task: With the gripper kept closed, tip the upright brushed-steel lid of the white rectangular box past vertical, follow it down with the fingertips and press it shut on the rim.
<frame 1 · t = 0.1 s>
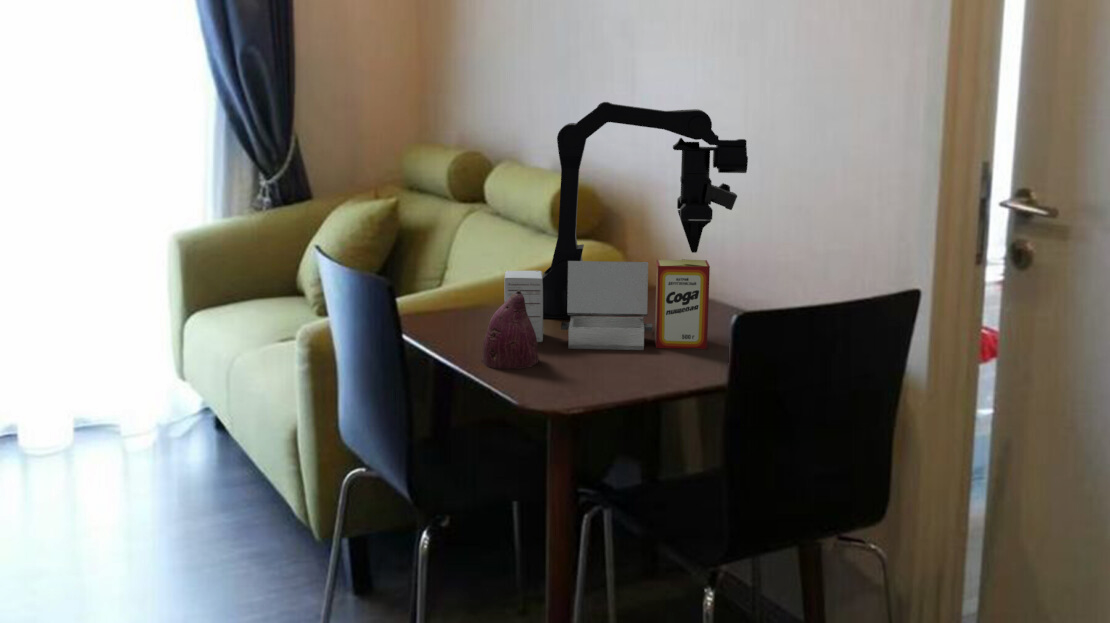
hand: (692, 248, 247), 15 cm above the table, fingers open, 9 cm apart
lid: (607, 288, 233), point 9 cm above the table, hinge at 100.0°
baking soda box: (680, 345, 228), on the table
white rectangular box: (606, 343, 229), on the table
vegetable: (509, 362, 215), on the table
supplement box: (523, 338, 232), on the table
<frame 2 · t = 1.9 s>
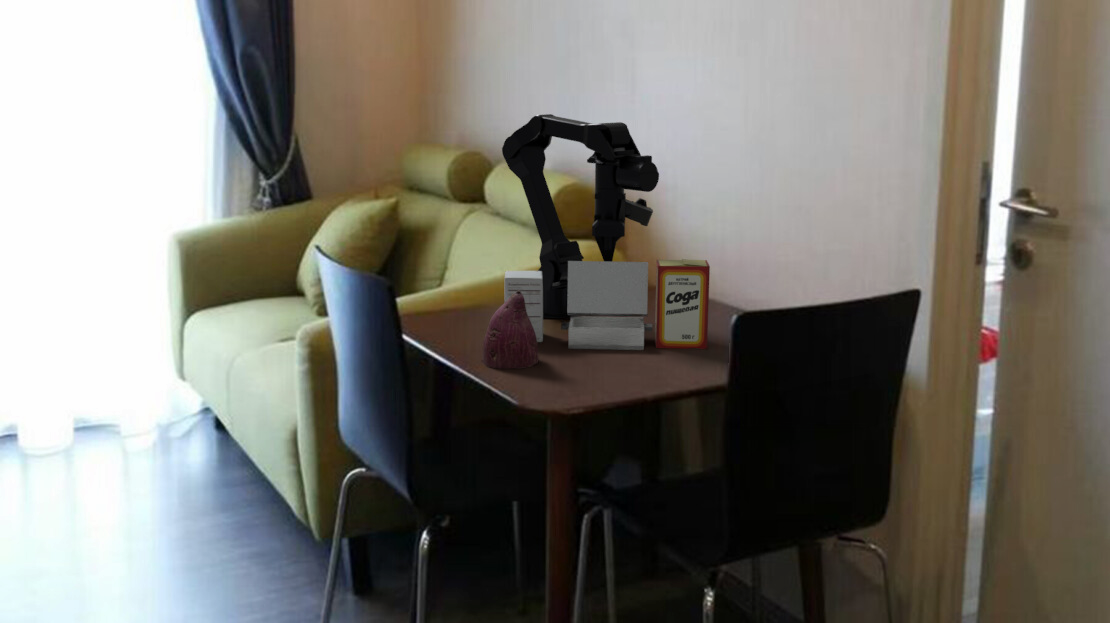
hand: (608, 266, 239), 13 cm above the table, fingers closed
nothing on the table moved.
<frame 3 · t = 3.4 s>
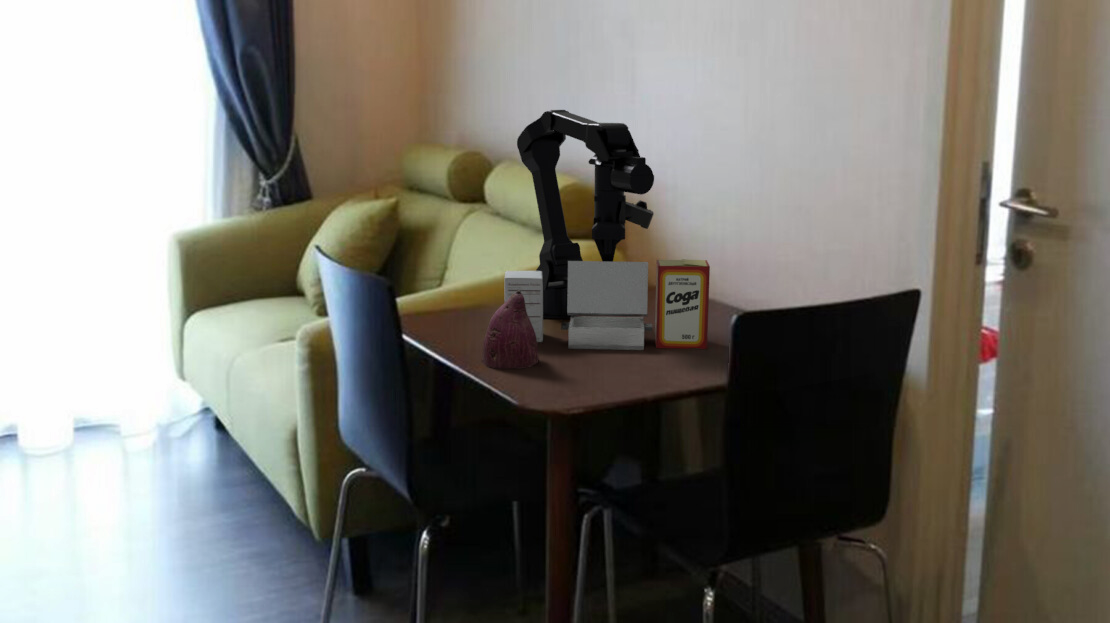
hand: (608, 269, 234), 13 cm above the table, fingers closed
lid: (607, 288, 233), point 9 cm above the table, hinge at 98.9°, touching gripper
everything else where it was.
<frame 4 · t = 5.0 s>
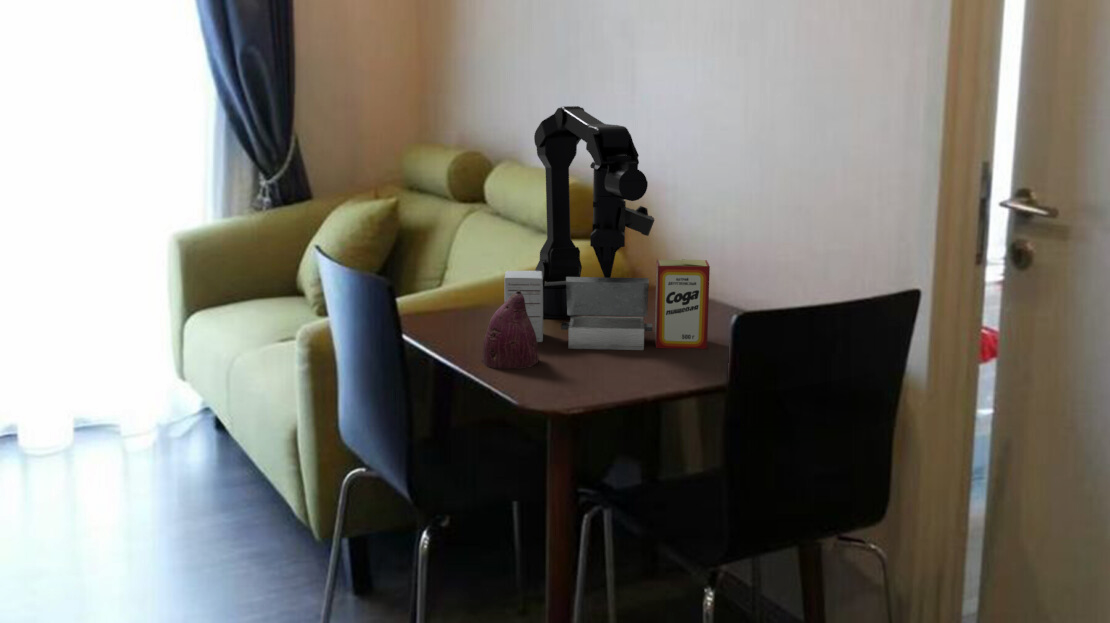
hand: (607, 277, 226), 13 cm above the table, fingers closed
lid: (607, 295, 229), point 9 cm above the table, hinge at 51.0°
everything else where it was.
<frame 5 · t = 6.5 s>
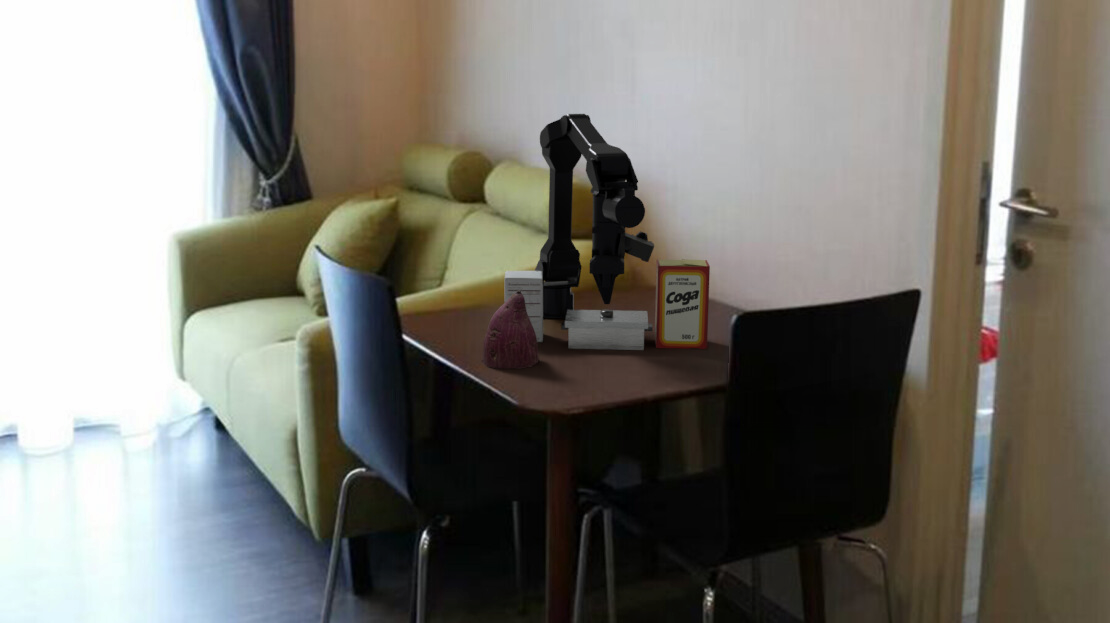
hand: (607, 303, 224), 8 cm above the table, fingers closed
lid: (606, 316, 228), point 5 cm above the table, hinge at -0.2°
everything else where it was.
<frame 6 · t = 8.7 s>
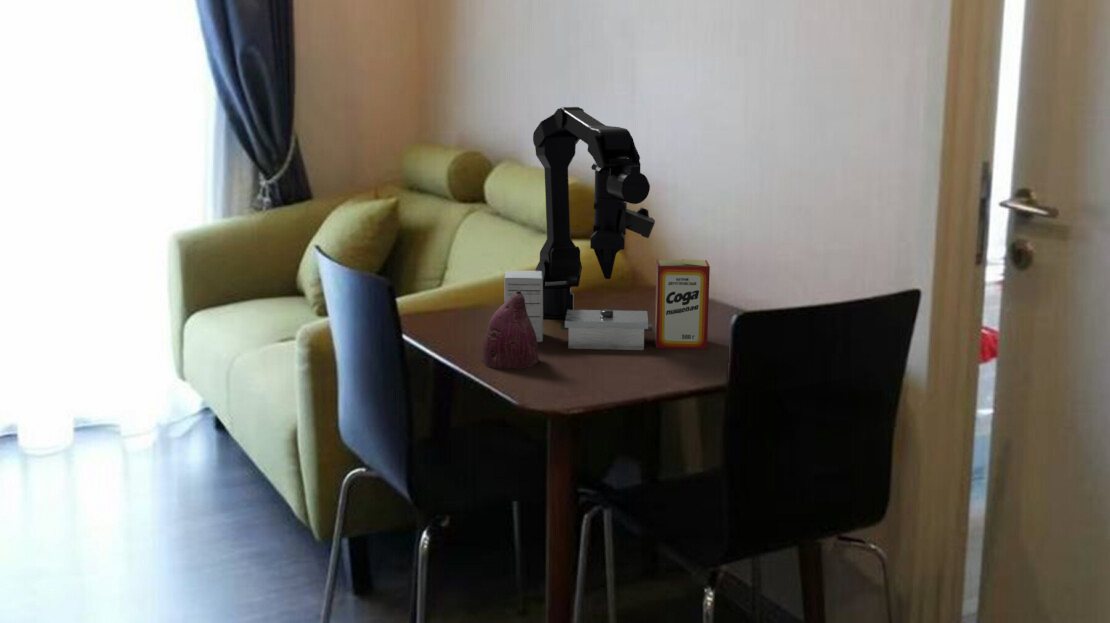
hand: (607, 278, 228), 12 cm above the table, fingers closed
nothing on the table moved.
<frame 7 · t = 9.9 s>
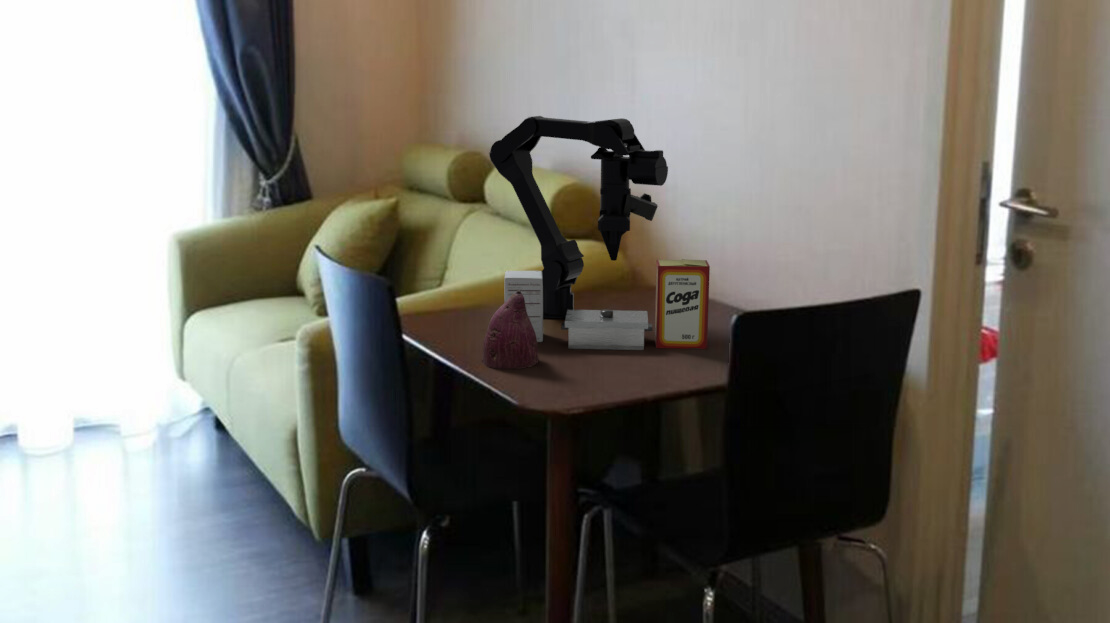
hand: (613, 260, 242), 13 cm above the table, fingers closed
nothing on the table moved.
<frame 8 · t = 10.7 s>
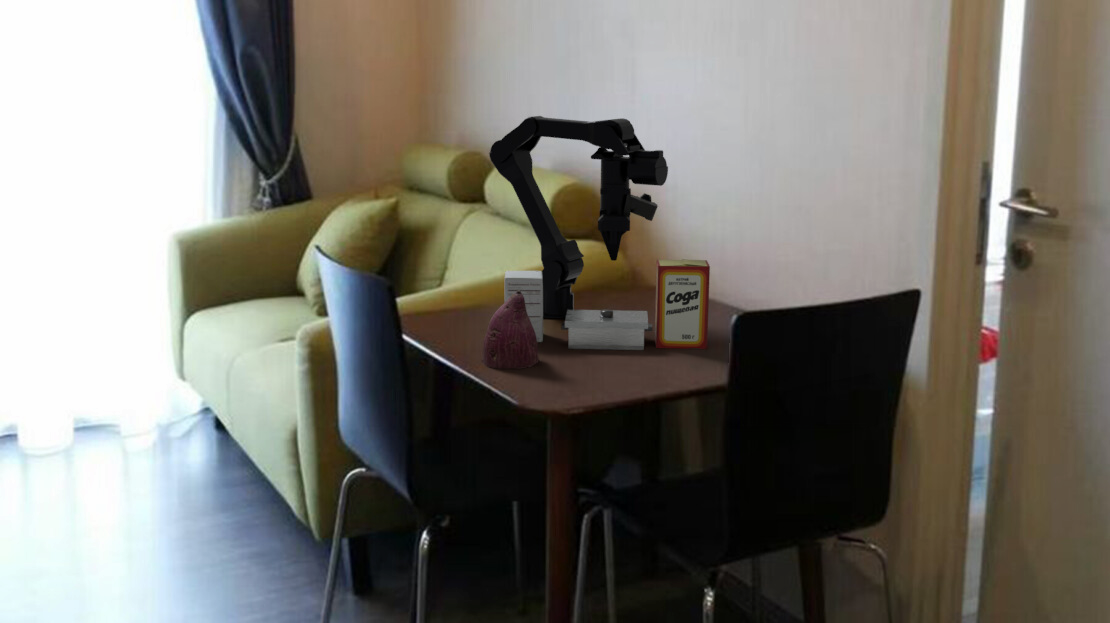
hand: (613, 260, 242), 13 cm above the table, fingers closed
nothing on the table moved.
at the end: lid at +0° (first picture: +100°); lid touching nothing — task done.
